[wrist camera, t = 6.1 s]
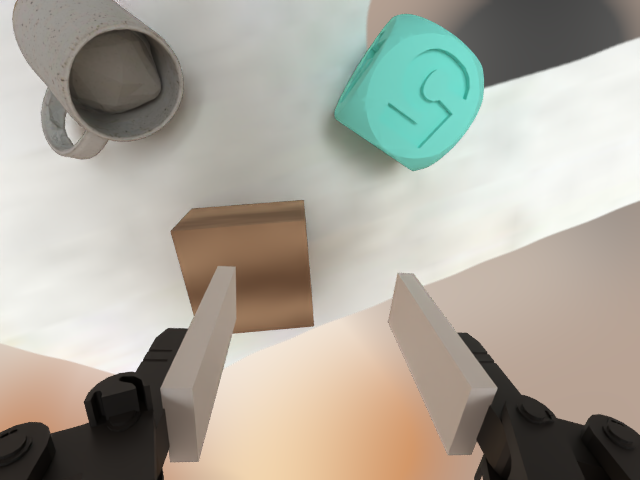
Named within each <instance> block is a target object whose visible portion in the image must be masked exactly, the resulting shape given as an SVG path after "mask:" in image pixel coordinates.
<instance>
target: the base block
mask: <svg viewBox="0 0 640 480" xmlns="http://www.w3.org/2000/svg"><path fill="white" fill-rule="evenodd" d="M171 235H172V238H173V242H174V245H175V249H176V253H177V256H178V260H179V263H180V267H181V271H182V274H183V278H184V281H185V285H186V289H187V292H188V296H189V299H190V303H191V307H192V310H193V314H194V316H195V313H196V311H197V309H198V307H199V305H200V303H201V301H202V299H203V296H204V294H205V292H206V290H207V288H208V286H209V284H210V282H211V279H212V277H213V275H214V273H215V271H216V269H217V267H218V266H231V267H236V322H235V326H234V329H233V333H232V334H234V333H245V332H256V331H267V330H278V329H289V328H300V327H311V326H314V320H313V306H312V292H311V280H310V268H309V256H308V245H307V233H306V221H305V209H304V200H297V201H284V202H271V203H259V204H246V205H233V206H220V207H207V208H194V209H191V210H190V211H189V212H188V213H187V214H186V215H185V216H184V218H183V219H182V220H181V221H180V222H179V223H178V224H177V225H176V226H175V227H174V228H173V229H172V230H171Z"/></svg>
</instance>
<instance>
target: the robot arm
mask: <svg viewBox="0 0 640 480" xmlns="http://www.w3.org/2000/svg"><path fill="white" fill-rule="evenodd" d="M235 322H236V267H231V266H218V267H217V269H216V271H215V273H214V275H213V277H212V279H211V282H210V284H209V286H208V288H207V290H206V292H205V294H204V296H203V299H202V301H201V303H200V305H199V307H198V309H197V311H196V313H195V316H194V318H193V320H192V322H191V324H190V326H189V328H188V329H184V328H168V329H166V330H165V331H164V332H163V333H161V334H160V335H159V336H158V337H156V338H155V340H154V342H153V344H152V345H151V347H150V349H149V352H147V354H146V355H145V357H144V359H143V362H141V364H140V365H139V367H138V369H137V371H136V372H125V373H119V374H116V375H113V376H111V377H108V378H106V379H105V380H103V381H101V382H100V383H98V384H97V385H96V386H95V387H94V388H93V389H92V390H91V391H90V392H89V393H88V395H87V397H86V399H85V401H84V404H85V408H86V412H87V416H88V420H89V423H87V424H84V425H81V426H77V427H73V428H70V429H66V430H62V431H59V432H55V433H51V434H50V431H49V428H48V427H47V426H46V425H44V424H43V423H38V422H28V423H24V424H20V425H16V426H13V427H11V428H9V429H7V430H5V431H2V432H0V480H164V476H163V470H162V467H163V464H164V461H165V458H166V456H167V453H168V450H169V457H170V462H198V461H199V458H200V454H201V450H202V446H203V443H204V439H205V435H206V432H207V428H208V424H209V420H210V417H211V413H212V409H213V405H214V401H215V398H216V394H217V390H218V386H219V382H220V379H221V374H222V371H223V367H224V364H225V360H226V356H227V352H228V348H229V345H230V341H231V337H232V333H233V329H234V326H235ZM388 323H389V325H390V328H391V330H392V332H393V334H394V337H395V339H396V341H397V343H398V345H399V348H400V350H401V352H402V354H403V357H404V359H405V361H406V363H407V365H408V368H409V370H410V372H411V374H412V377H413V379H414V381H415V383H416V385H417V388H418V390H419V392H420V394H421V397H422V399H423V401H424V403H425V405H426V408H427V410H428V412H429V414H430V417H431V419H432V421H433V423H434V425H435V428H436V430H437V432H438V434H439V437H440V439H441V441H442V443H443V445H444V448H445V450H446V452H447V454H448V455H471V454H472V452H473V449H474V447H475V444H476V442H478V443H479V445H480V448H481V449H482V451H483V453H484V455H483V457H482V460H481V462H480V464H479V467H478V469H477V472H476V474H475V477H474V480H480V479H481V477H482V476H483V480H640V435H639V434H638V433H637V432H635V431H634V430H633V429H632V428H630V427H628V426H627V425H625V424H624V423H622V422H620V421H618V420H616V419H614V418H612V417H608V416H604V415H600V414H598V415H592V416H591V417H590V418H589V419H588V420H587V422H586V424H585V425H581V424H577V423H573V422H569V421H566V420H562V419H558V418H556V417H555V415H554V414H553V412H552V411H550V410H549V409H548V408H547V407H546V406H545V405H543V404H542V403H540V402H539V401H537V400H535V399H533V398H531V397H528V396H525V395H521V394H520V393H519V391H518V390H517V389H516V388H515V386H514V385H513V384H512V383H511V381H510V380H509V379H508V378H507V376H506V375H505V374H504V373H503V371H502V370H501V369H500V368H499V366H498V365H497V364H496V363H494V360H493V359H492V358H491V356H490V355H489V354H487V351H486V350H485V349H484V348H483V346H482V345H481V344H480V343H479V342H478V341H477V340H476V339H474V338H473V337H472V336H470V335H469V334H468V333H457V332H456V331H455V329H454V328H453V327H452V325H451V324H450V323H449V322H448V320H447V319H446V317H445V316H444V314H443V313H442V312H441V310H440V309H439V308H438V306H437V305H436V304H435V302H434V301H433V300H432V298H431V297H430V296H429V294H428V293H427V291H426V290H425V289H424V287H423V286H422V285H421V283H420V282H419V280H418V279H417V278H416V276H415V275H414V274H410V273H398V274H397V279H396V284H395V289H394V294H393V299H392V304H391V310H390V314H389V319H388Z"/></svg>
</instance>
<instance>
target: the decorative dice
mask: <svg viewBox="0 0 640 480" xmlns="http://www.w3.org/2000/svg"><path fill="white" fill-rule="evenodd" d="M483 92H484V76H483V69H482V66H481V64H480V62H479V60H478V59H477V57H476V56H475V55H474V53H473V52H472V51H471V50H470V49H469V48H468V47H467V46H466V45H465V44H464V43H463V42H462V41H461V40H459V39H458V38H457V37H455V36H454V35H453V34H451V33H450V32H449V31H447V30H446V29H444V28H442V27H441V26H439V25H437V24H435V23H434V22H432V21H429V20H427V19H425V18H422V17H419V16H416V15H412V14H401V15H397V16H395V17H393V18H392V19H391V20H390V21H389V22H388V23H387V24H386V26H385V27H384V28H383V29H382V31H381V32H380V33H379V35H378V36H377V38H376V39H375V40H374V42H373V44H372V45H371V46H370V48H369V49H368V51H367V52H366V54H365V55H364V57H363V58H362V60H361V62H360V63H359V65H358V67H357V68H356V70H355V72H354V73H353V75H352V77H351V78H350V80H349V82H348V84H347V86H346V87H345V89H344V91H343V93H342V95H341V97H340V99H339V101H338V104H337V106H336V109H335V112H334V115H335V119H336V120H337V121H339V122H340V123H342V124H343V125H345V126H346V127H348V128H349V129H351V130H352V131H353V132H355V133H356V134H358V135H359V136H361V137H362V138H364V139H365V140H367V141H368V142H370V143H371V144H373V145H374V146H376V147H377V148H379V149H380V150H382V151H383V152H385V153H386V154H388V155H389V156H390V157H392V158H393V159H395V160H396V161H398V162H399V163H401V164H402V165H404V166H405V167H407V168H408V169H410V170H412V171H416V170H420V169H424V168H426V167H428V166H430V165H432V164H434V163H435V162H437V161H438V160H439V159H441V158H442V157H443V156H444V155H445V154H447V153H448V152H449V151H450V150H451V149H452V148H453V147H454V146H455V145H456V144H457V142H458V141H459V140H460V139H461V138H462V136H463V135H464V134H465V133H466V131H467V130H468V128H469V127H470V125H471V124H472V122H473V121H474V119H475V117H476V115H477V113H478V111H479V109H480V106H481V103H482V100H483Z"/></svg>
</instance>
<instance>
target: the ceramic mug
mask: <svg viewBox="0 0 640 480" xmlns="http://www.w3.org/2000/svg"><path fill="white" fill-rule="evenodd" d="M12 20H13V30H14V34H15V38H16V40H17V43H18V46H19V48H20V50H21V52H22V54H23V56H24V57H25V59H26V61H27V63H28V64H29V65H30V66H31V68H32V69H33V70H34V72H35V73H36V74H37V75H38V76H39V77H40V78H41V79H42V80H43V82H44V83H45V84H46V85H47V86H48V88H47V90H46V94H45V97H44V99H43V104H42V110H41V121H42V128H43V132H44V135H45V138H46V140H47V142H48V144H49V145H50V146H51V148H52V149H53V150H54V151H55V152H56V153H57V154H59V155H61V156H65V157H71V158H77V159H89V158H92V157H94V156H96V155H97V154H98V153H99V152H100V151H101V150H102V148H103V147H104V146H105V145H106V143H107V142H108V140H112V141H119V142H126V141H135V140H139V139H142V138H146V137H148V136H150V135H152V134H154V133H156V132H157V131H158V130H160V129H161V128H163V127H164V126H165V125H166V124H167V123H168V122H169V121H170V120H171V119H172V118H173V116H174V115H175V113H176V111H177V109H178V108H179V105H180V102H181V99H182V96H183V87H184V84H183V75H182V70H181V67H180V63H179V61H178V59H177V57H176V55H175V53H174V52H173V50H172V49H171V48H170V46H169V45H168V44H167V42H166V41H165V40H164V39H163V38H162V37H161V36H160V35H159V34H157V33H156V32H154V31H153V30H152V29H150V28H149V27H148V26H146V25H145V24H144V23H142V22H141V21H140V20H138V19H137V18H136V17H134V16H133V15H132V14H130V13H129V12H128V11H126V10H125V9H123V8H122V7H121V6H120V5H118V4H117V3H116V2H115V1H113V0H17V1H16V3H15V7H14V11H13V18H12ZM66 112H68V113H69V114H70V115H71V117H72V118H73V119H74V120H75V121H76V122H77V123H78V124H79V125H80V126H81V127H83V128H84V129H85V132H84V135H83V136H82V137H81V138H80V139H79V140H78V142H77V143H76V144H75V145H73V143H72V142H71V140H70V139H69V138H68V136H67V133H66V130H65V117H66Z"/></svg>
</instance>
